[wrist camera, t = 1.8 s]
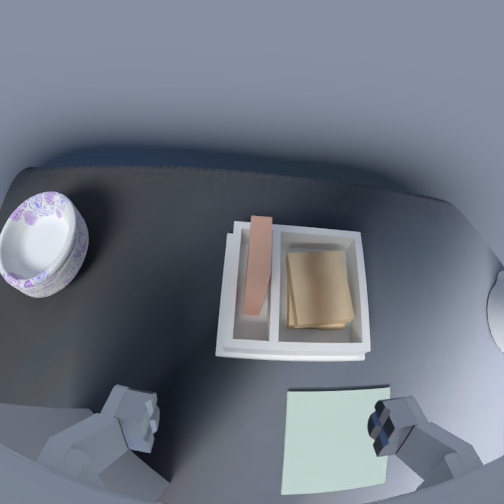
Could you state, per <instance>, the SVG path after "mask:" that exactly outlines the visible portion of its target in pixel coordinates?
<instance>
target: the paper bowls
mask: <svg viewBox="0 0 504 504" xmlns="http://www.w3.org/2000/svg"><path fill="white" fill-rule="evenodd" d="M88 244H89V236H88V229H87V226H86V223H85V221H84V219H83V218H82V216H81V214H80V213H79V211H78V210H77V209H76V207H75V206H74V204H73V203H72V201H71V200H70V199H69V198H67V197H66V196H64V195H63V194H61V193H58V192H44V193H40V194H37V195H35V196H33V197H31V198H29V199H27V200H26V201H25V202H23V203H22V204H21V205H20V206H19V207H18V208H17V209H16V210H15V211H14V212H13V213H12V214H11V216H10V217H9V219H8V220H7V222H6V224H5V226H4V228H3V230H2V232H1V235H0V272H1V274H2V276H3V278H4V279H5V280H6V281H7V282H8V283H9V284H11V285H12V286H13V287H15V288H17V289H18V290H20V291H21V292H23V293H25V294H27V295H29V296H32V297H37V298H39V297H46V296H50V295H52V294H55V293H56V292H58V291H60V290H62V289H63V288H64V287H65V286H66V285H68V284H69V283H70V282H71V281H72V279H73V278H74V277H75V276H76V274H77V273H78V271H79V269H80V267H81V266H82V264H83V261H84V259H85V256H86V253H87V249H88Z"/></svg>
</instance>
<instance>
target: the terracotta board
mask: <svg viewBox="0 0 504 504" xmlns="http://www.w3.org/2000/svg"><path fill="white" fill-rule="evenodd" d="M271 246H272V217H263V216H251V224H250V235H249V246H248V257H247V268H246V281H245V296H244V310H243V314H247V315H259V314H260V311H261V307H262V304H263V300H264V297H265V293H266V290H267V286H268V283H269V279H270V276H271Z"/></svg>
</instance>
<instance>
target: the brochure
mask: <svg viewBox="0 0 504 504" xmlns="http://www.w3.org/2000/svg"><path fill="white" fill-rule="evenodd" d="M92 415H94V413H93V412H92V411H91V410H90V409H82V408H48V407H33V406H21V405H11V404H3V403H0V443H2V444H3V445H5V446H7V447H9V448H10V449H12V450H14V451H16V452H18V453H20V454H22V455H24V456H26V457H28V458H30V459H32V460H34V461H37V459H38V457H39V455H40V453H41V452H42V450H43V448H44V446H45V445H46V443H47V441H48V439H49V438H50V437H52V436H54V435H56V434H58V433H60V432H62V431H64V430H65V429H67V428H69V427H71V426H73V425H75V424H77V423H79V422H81V421H83V420H84V419H86V418H88V417H90V416H92ZM98 476H99V478H100V479H101V481H102V482H103V484H104V486H105V487H106V489H108V490H111V491H115V492H118V493H122V494H126V495H130V496H133V497H138V498H142V499H146V500H151V501H156V500H157V499H158V498H159V497H160V495H161V494H162V493H163V492H164V490H165V489H166V488H167V487H168V485H169V484H170V483H169V482H168V481H167V480H165V479H164V478H163V477H162V476H160V475H159V474H158V473H157V472H155V471H154V470H153V469H152V468H150V467H149V466H148V465H147V464H146V463H145V462H143V461H142V460H141V459H140V458H139V457H138V456H136V455H135V454H134V453H133V452H132V451H131V450H130V449H128V451H126V452H125V453H124V454H123V455H121V456H120V457H119V458H118V459H116V460H115V461H114V462H113V463H111V464H110V465H109V466H108V467H106V468H105V469H104V470H103V471H101V472H100V473H99V474H98Z"/></svg>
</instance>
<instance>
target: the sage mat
mask: <svg viewBox="0 0 504 504" xmlns="http://www.w3.org/2000/svg"><path fill="white" fill-rule="evenodd" d="M384 399H390V387H389V388H378V389H366V390H349V391H321V392H287V404H286V424H285V441H284V456H283V471H282V484H281V495H286V494H307V493H320V492H330V491H339V490H346V489H353V488H360V487H366V486H371V485H377V484H382V483H385V479H386V469H387V458H388V456H382V457H377V456H376V453H375V450H374V447H373V443H374V439H372V438H371V437H370V436H369V433H368V429H367V424H368V419H369V417H370V415H371V414H372V413H373V412H375V411H376V410H375V408H374V406H375V404H376V402H377V401H379V400H384Z"/></svg>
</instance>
